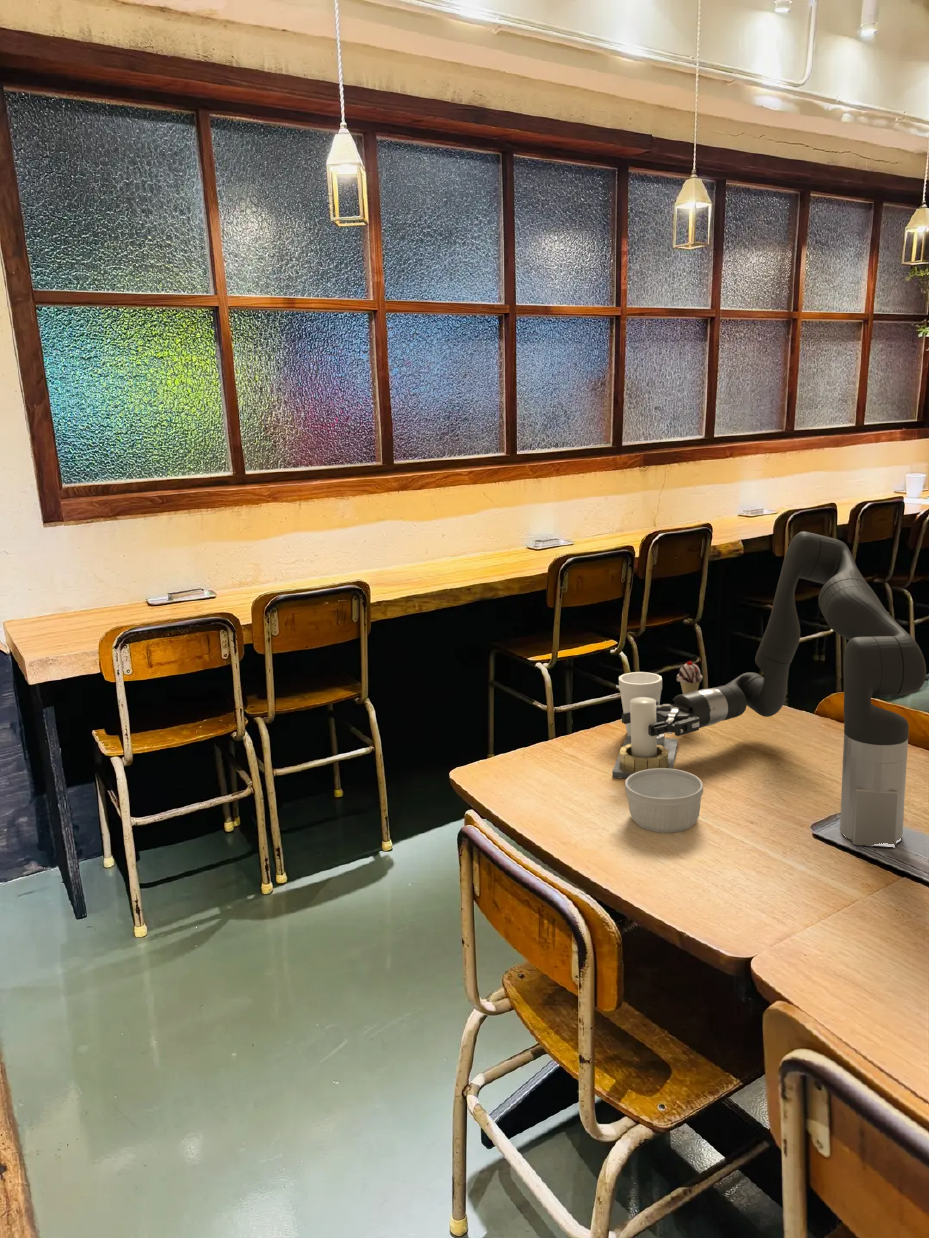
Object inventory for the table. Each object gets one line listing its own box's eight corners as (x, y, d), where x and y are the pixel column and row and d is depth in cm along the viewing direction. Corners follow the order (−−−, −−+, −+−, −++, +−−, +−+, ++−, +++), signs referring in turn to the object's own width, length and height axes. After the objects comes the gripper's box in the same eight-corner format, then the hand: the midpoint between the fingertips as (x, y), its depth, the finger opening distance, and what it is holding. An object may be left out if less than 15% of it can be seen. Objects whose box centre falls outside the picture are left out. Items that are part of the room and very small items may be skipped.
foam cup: (631, 724, 195) (630, 670, 192) (669, 730, 189) (668, 674, 187) (612, 737, 187) (611, 681, 184) (651, 744, 182) (651, 686, 179)
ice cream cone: (671, 722, 194) (671, 660, 191) (691, 718, 196) (691, 656, 193) (688, 730, 189) (687, 665, 185) (708, 725, 191) (708, 661, 188)
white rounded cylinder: (655, 768, 166) (654, 705, 163) (630, 766, 168) (628, 704, 165) (658, 758, 171) (657, 697, 168) (633, 757, 172) (631, 696, 169)
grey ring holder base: (669, 781, 163) (669, 763, 162) (612, 777, 166) (612, 759, 165) (678, 744, 181) (678, 727, 180) (626, 741, 185) (626, 725, 184)
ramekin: (618, 831, 144) (617, 794, 143) (633, 799, 156) (632, 764, 155) (698, 841, 139) (698, 802, 138) (707, 807, 151) (707, 771, 150)
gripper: (676, 683, 179) (613, 697, 172) (724, 700, 166) (658, 716, 159) (676, 716, 180) (614, 732, 174) (724, 736, 168) (659, 753, 161)
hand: (635, 724), depth 166 cm, fingers open, 8 cm apart
